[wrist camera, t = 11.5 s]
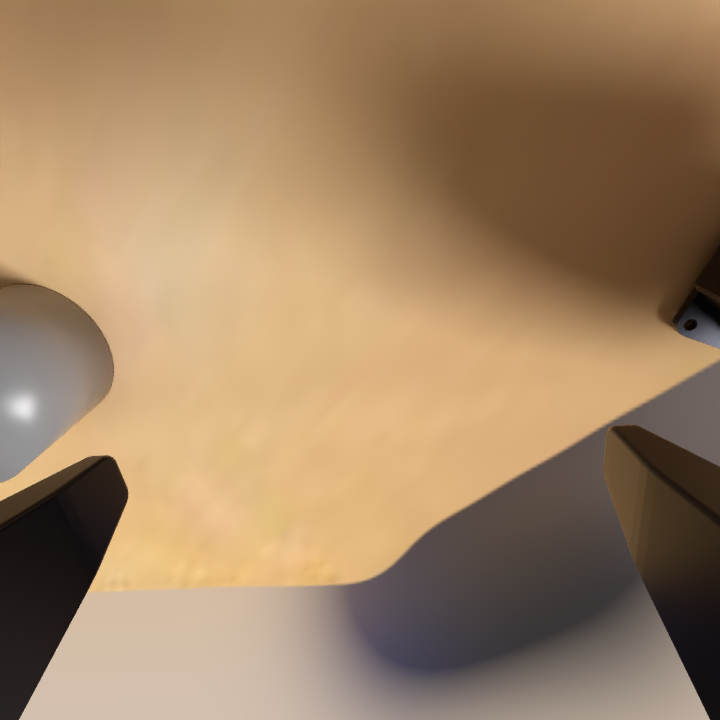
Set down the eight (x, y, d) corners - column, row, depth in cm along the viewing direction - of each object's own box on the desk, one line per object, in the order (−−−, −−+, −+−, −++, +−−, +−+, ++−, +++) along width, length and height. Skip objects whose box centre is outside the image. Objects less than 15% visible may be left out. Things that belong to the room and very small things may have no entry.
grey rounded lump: (82, 276, 22) (-20, 321, 17) (133, 409, 25) (60, 481, 20) (-51, 292, 23) (-184, 338, 18) (13, 417, 26) (-86, 488, 21)
